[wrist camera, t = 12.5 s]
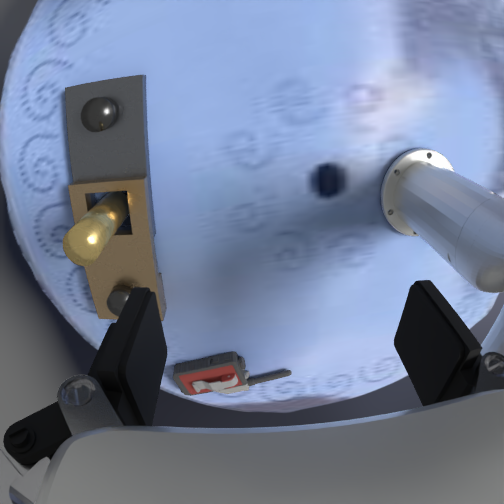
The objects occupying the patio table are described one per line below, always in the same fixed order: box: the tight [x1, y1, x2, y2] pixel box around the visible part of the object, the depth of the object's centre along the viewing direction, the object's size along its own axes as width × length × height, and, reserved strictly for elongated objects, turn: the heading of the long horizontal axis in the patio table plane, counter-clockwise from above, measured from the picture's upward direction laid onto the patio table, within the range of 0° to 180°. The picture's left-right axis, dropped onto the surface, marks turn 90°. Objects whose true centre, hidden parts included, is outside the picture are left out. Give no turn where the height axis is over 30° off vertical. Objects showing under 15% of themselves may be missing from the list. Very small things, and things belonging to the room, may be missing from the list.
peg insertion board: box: [65, 75, 166, 321], centre depth 37 cm, size 10×32×5 cm, turn 179°
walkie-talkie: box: [173, 351, 291, 396], centre depth 52 cm, size 9×4×20 cm
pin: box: [63, 191, 130, 266], centre depth 34 cm, size 4×4×12 cm
